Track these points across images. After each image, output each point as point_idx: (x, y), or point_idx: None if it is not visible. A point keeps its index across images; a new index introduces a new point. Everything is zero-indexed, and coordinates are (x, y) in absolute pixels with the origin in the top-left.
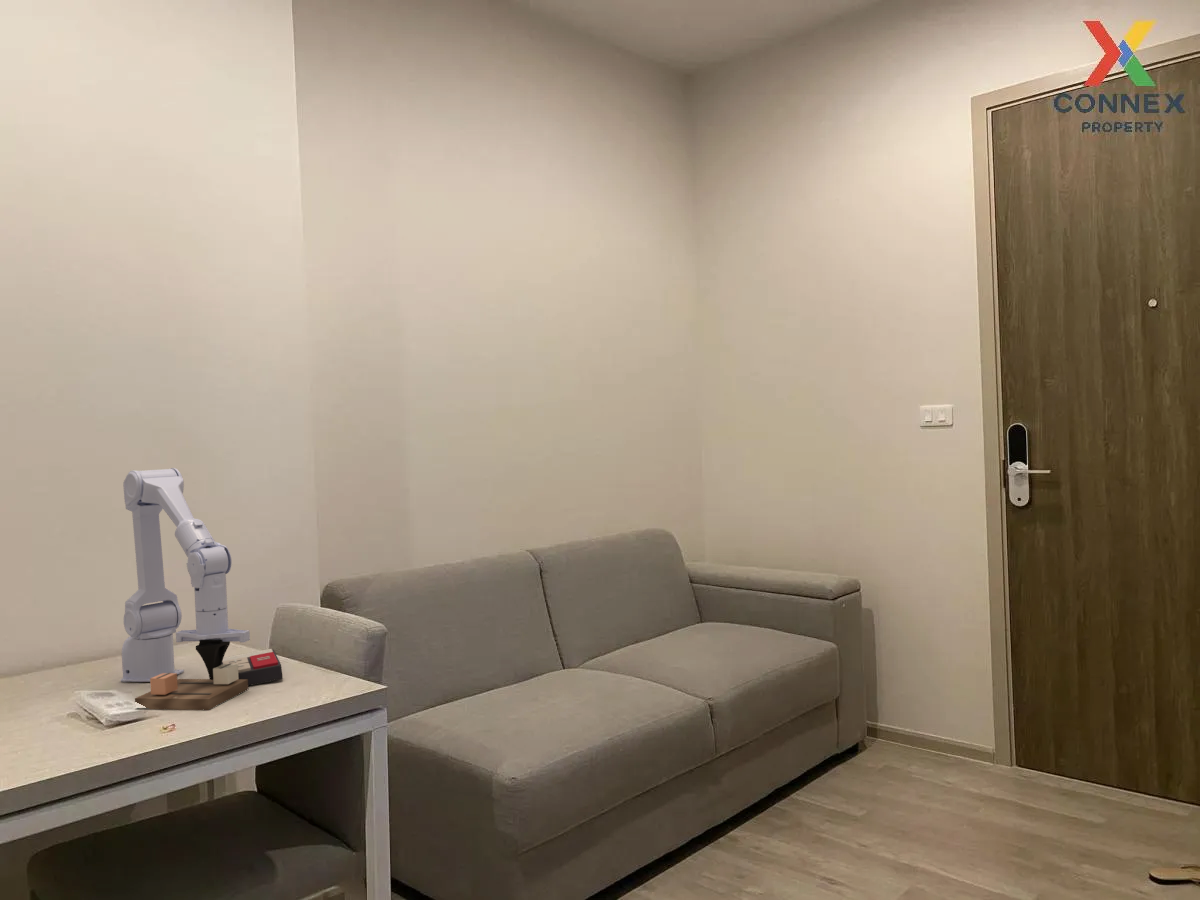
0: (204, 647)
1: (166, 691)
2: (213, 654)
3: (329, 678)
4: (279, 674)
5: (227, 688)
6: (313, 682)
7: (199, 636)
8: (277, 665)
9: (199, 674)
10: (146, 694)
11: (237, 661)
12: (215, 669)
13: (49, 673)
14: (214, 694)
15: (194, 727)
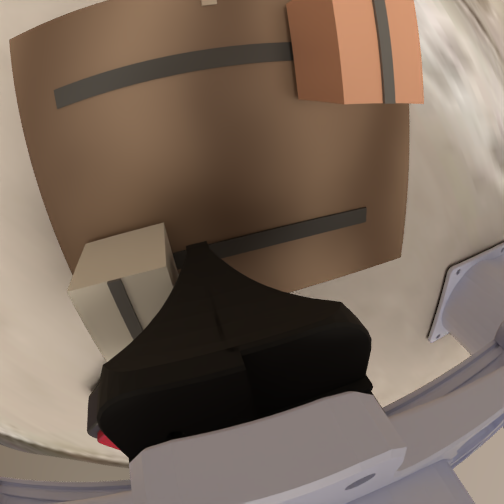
0: (221, 349)
1: (293, 9)
2: (143, 334)
3: (16, 420)
4: (89, 406)
5: (56, 209)
6: (11, 396)
7: (290, 488)
8: (91, 430)
9: (389, 348)
10: None
11: None
12: (147, 267)
13: None
14: (33, 105)
15: None
